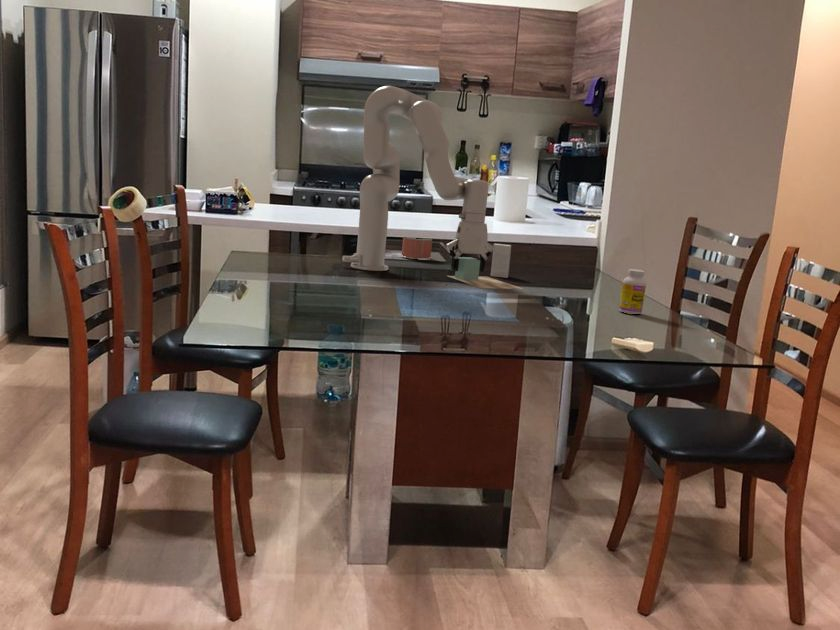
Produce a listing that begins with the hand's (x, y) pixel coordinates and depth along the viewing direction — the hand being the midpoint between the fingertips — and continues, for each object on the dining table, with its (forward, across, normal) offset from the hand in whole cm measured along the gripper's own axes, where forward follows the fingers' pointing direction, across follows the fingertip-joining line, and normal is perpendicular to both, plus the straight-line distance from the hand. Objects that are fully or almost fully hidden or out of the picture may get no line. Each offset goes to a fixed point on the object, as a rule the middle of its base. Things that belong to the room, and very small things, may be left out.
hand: (467, 270), depth 287 cm
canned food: (+4, +8, +52) cm, 53 cm away
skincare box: (+4, +17, +7) cm, 19 cm away
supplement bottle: (+4, +28, -48) cm, 56 cm away
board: (+4, +3, -6) cm, 8 cm away
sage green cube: (+3, 0, 0) cm, 3 cm away
